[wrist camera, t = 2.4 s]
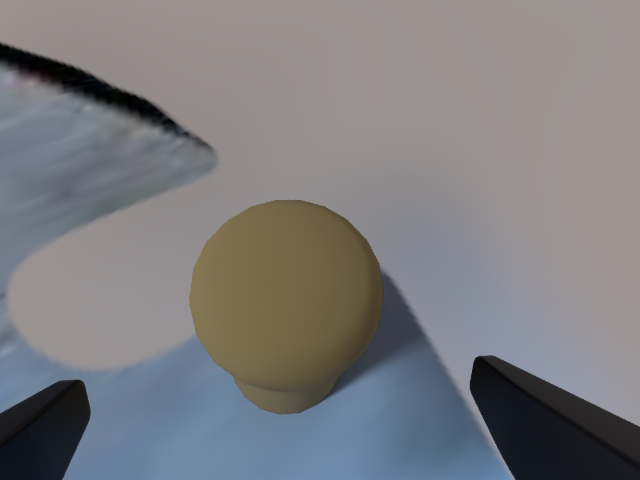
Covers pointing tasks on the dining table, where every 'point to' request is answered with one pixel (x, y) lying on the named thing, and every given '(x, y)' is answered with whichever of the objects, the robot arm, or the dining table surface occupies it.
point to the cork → (286, 301)
